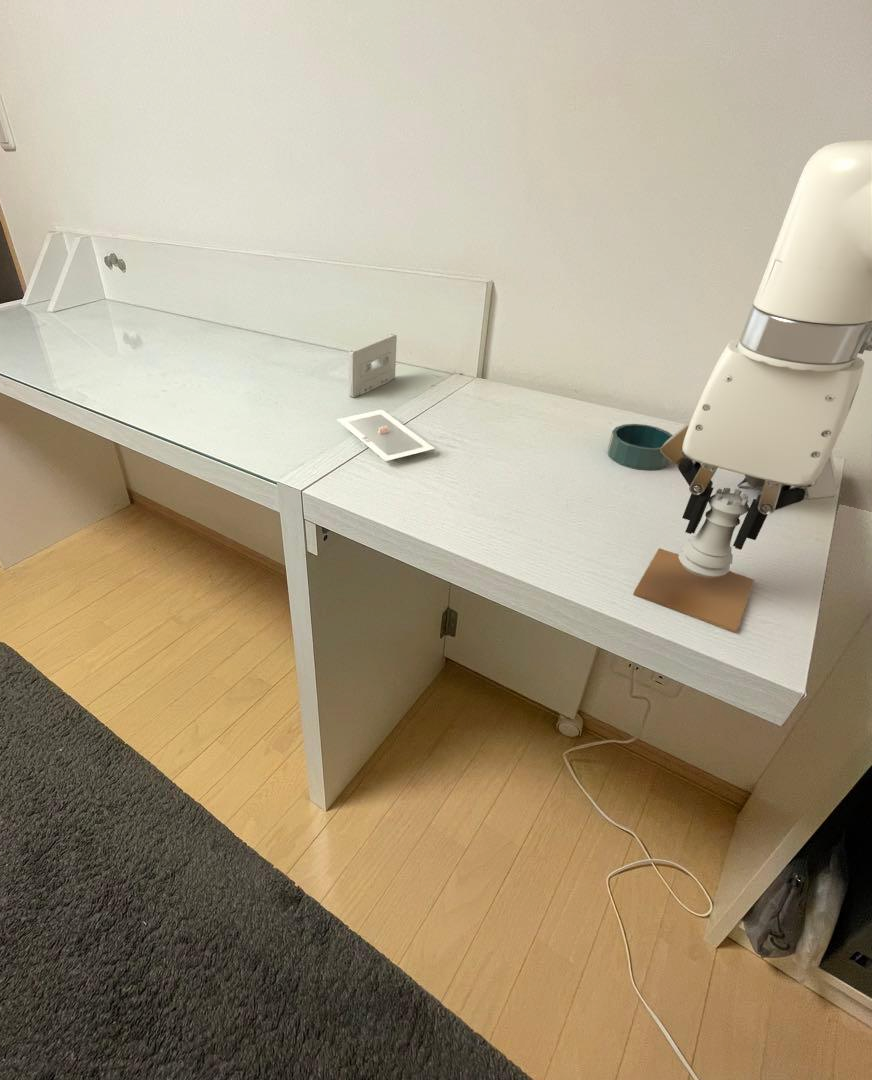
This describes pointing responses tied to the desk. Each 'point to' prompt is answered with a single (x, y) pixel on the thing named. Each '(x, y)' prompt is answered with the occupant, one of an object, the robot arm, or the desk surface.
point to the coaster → (695, 591)
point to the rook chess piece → (715, 536)
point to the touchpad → (385, 435)
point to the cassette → (369, 375)
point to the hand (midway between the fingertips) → (716, 532)
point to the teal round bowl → (638, 446)
